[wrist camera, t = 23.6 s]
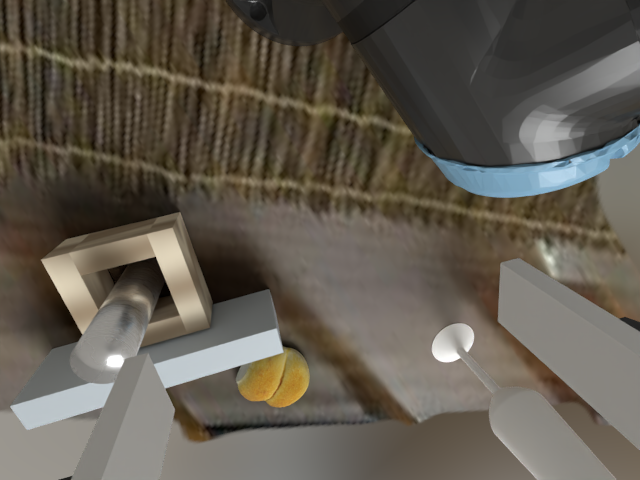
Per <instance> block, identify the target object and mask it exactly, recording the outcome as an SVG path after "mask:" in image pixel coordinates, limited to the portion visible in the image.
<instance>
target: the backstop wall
mask: <svg viewBox="0 0 640 480" xmlns="http://www.w3.org/2000/svg"><path fill="white" fill-rule="evenodd" d="M77 343H78V342H75V343H72V344H68V345H65V346H61V347H57V348H54V349H52V350H51V351H50V353H49V354H48V355H47V357H46V358H45V359H44V361H43V362H42V363H41V365H40V366H39V367H38V369H37V370H36V372H35V373H34V374H33V376H32V377H31V378H30V380H29V381H28V382H27V384H26V385H25V386H24V388H23V389H22V391H21V392H20V393H19V395H18V396H17V397H16V399H15V400H14V401H13V403H12V404H11V405H10V407H11V409H12V410H13V411H14V413H15V414H16V415H17V417H18V418H19V420H20V421H21V422H22V423H23V425H24V426H25V428H26V429H27V430H29V429H32V428H35V427H38V426H42V425H45V424H48V423H52V422H55V421H59V420H62V419H65V418H69V417H72V416H75V415H78V414H82V413H85V412H88V411H92V410H95V409H98V408H102V407H104V405H105V402H106V400H107V398H108V396H109V393H110V391H111V389H112V387H113V385H114V382H113V383H108V384H95V383H91V382H87V381H85V380H83V379H81V378H80V377H78V376H77V375H76V374H75V373H74V372H73V370H72V368H71V366H70V355H71V353H72V351H73V349H74V348H75V346H76V345H77ZM146 353H149V356H150V358H151V360H152V362H153V364H154V366H155V368H156V371H157V373H158V375H159V377H160V379H161V381H162V383H163V385H164V388H168V387H171V386H174V385H178V384H181V383H184V382H188V381H191V380H194V379H198V378H201V377H204V376H207V375H211V374H214V373H217V372H221V371H224V370H227V369H231V368H234V367H237V366H241V365H244V364H247V363H250V362H254V361H257V360H260V359H264V358H267V357H270V356H274V355H277V354H280V353H284V352H283V347H282V342H281V337H280V332H279V326H278V321H277V316H276V311H275V307H274V304H273V300H272V297H271V293H270V290H269V289H267V290H264V291H260V292H256V293H253V294H249V295H245V296H242V297H238V298H235V299H231V300H227V301H224V302H220V303H216V304H213V305H212V314H211V323H210V328H207V329H203V330H200V331H196V332H193V333H189V334H186V335H182V336H179V337H175V338H172V339H168V340H165V341H161V342H157V343H154V344H150V345H147V346H143V347H140V348H139V350H138V353H137V355H136V356H138V355H142V354H146Z"/></svg>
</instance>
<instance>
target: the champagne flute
mask: <svg viewBox="0 0 640 480" xmlns="http://www.w3.org/2000/svg"><path fill="white" fill-rule="evenodd" d="M473 340H474V333H473V330H472V329H471V328H470V326H468V325H466V324H463V323H456V324H452V325H449V326H447V327H445V328H444V329H442V330H441V331H440V332H439V333H438V334H437V336H436V337H435V339H434V341H433V344H432V353H433V355H434V357H435V358H436V359H437V360H439V361H442V362H452V361H455V360H457V359H459V358H461V359H462V360H463V361H464V362H465V363H466V364H467V365H468V367H469V368H470V369H471V370H472V371H473V372H474V373H475V374H476V376H477V377H478V378H479V379H480V380H481V381H482V382H483V383H484V385H485V386H486V387H487V388H488V389H489V390H490V391H491V392H492V394H493V396H492V398H491V403H490V408H489V420H490V425H491V428H492V430H493V431H494V433H495V435H496V436H497V437H498V438H499V439H500V440H501V441H502V442H503V443H504V444H505V446H506V447H507V448H508V449H509V450H510V451H511V452H512V453H513V454H514V455H515V456H516V457H517V458H518V459H519V461H520V462H521V463H522V464H523V465H524V466H525V467H526V468H527V469H528V470H529V471H530V472H531V473H532V474H533V475H534V477H535V478H536V479H537V480H617V479H616V478H615V477H614V476H613V475H612V474H611V473H610V472H609V470H608V469H607V468H606V467H605V466H604V465H603V464H602V462H601V461H600V460H599V459H598V458H597V457H596V456H595V455H594V453H592V451H591V450H590V449H589V448H588V447H587V446H586V445H585V443H584V442H583V441H582V440H581V439H580V438H579V437H578V435H577V434H576V433H575V432H574V431H573V430H572V429H571V428H570V426H569V425H568V424H567V423H566V422H565V421H564V420H563V418H562V417H561V416H560V415H559V414H558V413H557V412H556V410H554V408H553V407H552V406H551V405H550V404H549V403H548V401H547V400H546V399H545V398H544V397H543V396H542V395H541V394H540V393H538V392H536V391H534V390H531V389H528V388H524V387H503V388H500V387H499V386H498V385H497V384H496V383H495V381H494V380H493V379H492V378H491V377H490V376H489V375H488V374H487V373H486V372H485V371H484V370H483V369H482V368H481V366H480V365H479V364H478V363H477V362H476V361H475V360H474V359H473V358H472V357H471V356H470V355H469V354H468V353H467V352H468V351H469V349H470V348H471V346H472V344H473Z"/></svg>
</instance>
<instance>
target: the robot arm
mask: <svg viewBox="0 0 640 480" xmlns="http://www.w3.org/2000/svg"><path fill="white" fill-rule="evenodd" d="M226 2H227V3H228V5H229V6H230V7H231V9H232V10H233V11H234V12H235V13H236V15H237V16H238V17H239V18H240V19H241V20H242V21H243V22H244V23H245V24H247V25H248V26H249V27H250V28H251V29H253V30H254V31H256V32H257V33H259V34H260V35H262V36H264V37H266V38H268V39H270V40H272V41H275V42H278V43H281V44H286V45H292V46H309V45H315V44H319V43H322V42H325V41H327V40H330V39H331V38H333V37H335V36H337V35H338V34H340V33H341V32H344V33H345V35H346V36H347V38H348V39H349V41H350V42H351V45H352V46H353V48H354V49H355V51H356V52H357V53H358V55H359V56H360V58H361V59H362V61H363V62H364V64H365V65H366V67H367V68H368V69H369V71H370V72H371V74H372V75H373V77H374V78H375V80H376V81H377V83H378V84H379V85H380V87H381V88H382V90H383V91H384V93H385V94H386V96H387V97H388V99H389V100H390V102H391V103H392V104H393V106H394V107H395V109H396V110H397V112H398V113H399V115H400V116H401V118H402V119H403V120H404V122H405V123H406V125H407V126H408V128H409V129H410V131H411V132H412V134H413V135H414V138H415V142H416V144H417V145H418V147H419V148H420V149H421V150H422V151H423V152H424V153H425V154H426V155H427V156H429V157H430V158H432V160H433V161H434V162H435V163H436V165H437V166H438V167H439V169H440V170H441V171H442V172H443V174H444V175H445V176H446V177H447V178H448V179H449V180H450V181H451V182H452V183H454V184H455V185H457V186H459V187H462V188H464V189H466V190H467V191H469V192H472V193H475V194H478V195H483V196H489V197H502V198H507V197H522V196H530V195H537V194H543V193H547V192H551V191H555V190H559V189H562V188H565V187H568V186H571V185H574V184H577V183H579V182H582V181H584V180H586V179H589V178H591V177H593V176H595V175H597V174H599V173H601V172H602V171H604V170H606V169H607V168H608V167H609V163H610V159H612V158H622V157H625V156H626V155H627V154H628V153H629V152H631V151H632V150H633V149H634V148H635V147H636V146H637V145H638V144H639V142H640V0H226ZM498 322H499V323H500V324H501V325H503V326H504V327H505V328H506V329H507V330H508V331H509V332H510V333H511V334H512V335H513V336H515V337H516V338H517V339H518V340H519V341H520V342H521V343H522V344H523V345H524V346H526V347H527V348H528V349H529V350H530V351H531V352H532V353H533V354H534V355H535V356H537V357H538V358H539V359H540V360H541V361H542V362H543V363H544V364H545V365H546V366H548V367H549V368H550V369H551V370H552V371H553V372H554V373H555V374H556V375H557V376H559V377H560V378H561V379H562V380H563V381H564V382H565V383H566V384H567V385H568V386H570V387H571V388H572V389H573V390H574V391H575V392H576V393H577V394H578V395H579V396H581V397H582V398H583V399H584V400H585V401H586V402H587V403H588V404H589V405H590V406H592V407H593V408H594V409H595V410H596V411H597V412H598V413H599V414H600V415H601V416H603V417H604V418H605V419H606V420H607V421H608V422H609V423H610V424H611V425H612V426H614V427H615V428H616V429H617V430H618V431H619V432H620V433H621V434H622V435H624V436H625V437H626V438H627V439H628V440H629V441H630V442H631V443H632V444H633V445H634V446H636V447H637V448H638V449H639V450H640V322H638V321H635V320H632V319H629V318H627V317H623V318H620V319H618V318H616V317H615V316H613V315H612V314H610V313H608V312H607V311H605V310H603V309H602V308H600V307H598V306H597V305H595V304H593V303H592V302H590V301H589V300H587V299H585V298H584V297H582V296H580V295H579V294H577V293H575V292H574V291H572V290H570V289H569V288H567V287H566V286H564V285H562V284H561V283H559V282H557V281H556V280H554V279H552V278H551V277H549V276H547V275H546V274H544V273H543V272H541V271H539V270H538V269H536V268H534V267H533V266H531V265H529V264H528V263H526V262H524V261H523V260H521V259H520V258H518V259H514V260H510V261H506V262H502V263H501V267H500V287H499V308H498ZM174 412H175V409H174V407H173V405H172V403H171V400H170V398H169V396H168V394H167V392H166V390H165V388H164V385H163V383H162V381H161V379H160V377H159V375H158V373H157V371H156V368H155V366H154V364H153V362H152V360H151V358H150V356H149V353H146V354H142V355H138V356H134V357H130V358H126V359H125V360H124V362H123V365H122V367H121V369H120V371H119V373H118V376H117V378H116V380H115V382H114V385H113V387H112V389H111V391H110V393H109V396H108V398H107V400H106V402H105V405H104V407H103V409H102V411H101V414H100V416H99V418H98V420H97V423H96V425H95V427H94V430H93V431H92V434H91V436H90V438H89V440H88V443H87V445H86V447H85V450H84V452H83V454H82V456H81V458H80V461H79V463H78V465H77V467H76V470H75V472H74V474H73V476H70V477H67V478H64V479H60V480H160V476H161V471H162V467H163V462H164V457H165V453H166V448H167V443H168V439H169V435H170V430H171V426H172V421H173V417H174Z"/></svg>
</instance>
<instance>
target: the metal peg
mask: <svg viewBox="0 0 640 480" xmlns="http://www.w3.org/2000/svg"><path fill="white" fill-rule="evenodd" d="M164 282H165V278H164V275H163V273H162V270H161V268H160V266H159V263H158V261H157V260H155V259H153V258H149V259H145V260H141V261H137V262H133V263H129V264H128V266H127V267H126V269H125V270H124V272H123V273H122V275H121V276H120V278H119V280H118V281H117V283H116V284H115V286H114V287H113V289H112V290H111V292H110V293H109V295H108V297H107V298H106V300H105V301H104V303H103V304H102V306H101V307H100V309H99V310H98V312H97V314H96V315H95V317H94V318H93V320H92V321H91V323H90V324H89V326H88V327H87V329H86V331H85V332H84V334H83V335H82V337H81V338H80V340H79V341H78V343H77V345H76V346H75V348H74V349H73V351H72V353H71V355H70V366H71V368H72V370H73V372H74V373H75V374H76V375H77V376H78V377H80V378H81V379H83V380H85V381H87V382H91V383H95V384H108V383H113V382H115V380H116V378H117V376H118V373H119V371H120V369H121V367H122V365H123V362H124V360H125V359H126V358H130V357H134V356H136V355H137V353H138V350H139V348H140V345H141V342H142V340H143V337H144V334H145V332H146V329H147V327H148V324H149V321H150V319H151V316H152V314H153V311H154V308H155V306H156V303H157V300H158V298H159V295H160V293H161V290H162V287H163V285H164Z"/></svg>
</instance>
